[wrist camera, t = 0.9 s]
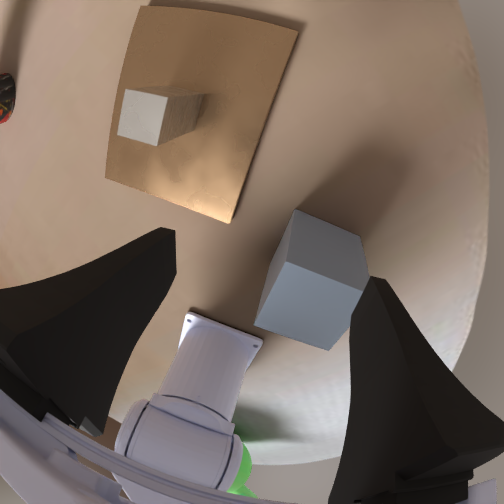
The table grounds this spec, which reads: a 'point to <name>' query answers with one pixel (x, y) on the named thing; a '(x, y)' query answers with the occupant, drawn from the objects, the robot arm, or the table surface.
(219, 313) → the table surface
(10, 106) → the deodorant
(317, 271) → the pale blue cuboid
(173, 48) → the wooden board
